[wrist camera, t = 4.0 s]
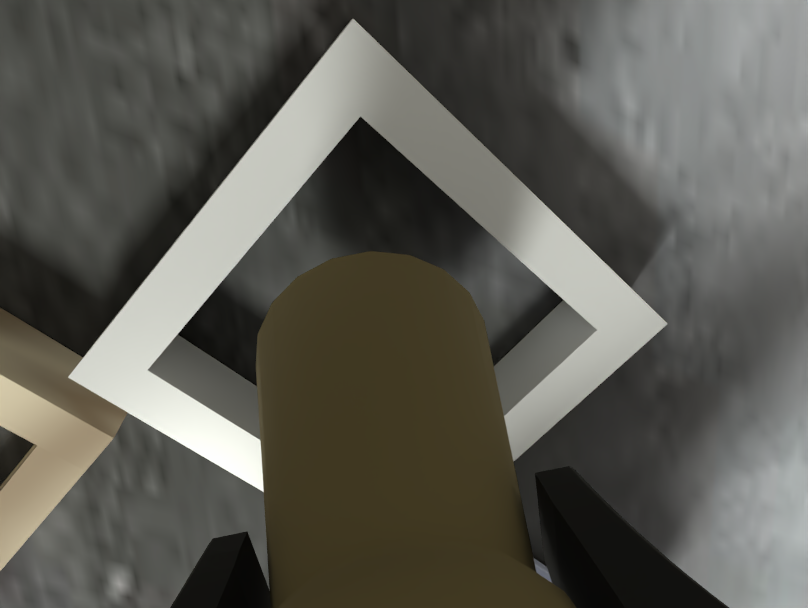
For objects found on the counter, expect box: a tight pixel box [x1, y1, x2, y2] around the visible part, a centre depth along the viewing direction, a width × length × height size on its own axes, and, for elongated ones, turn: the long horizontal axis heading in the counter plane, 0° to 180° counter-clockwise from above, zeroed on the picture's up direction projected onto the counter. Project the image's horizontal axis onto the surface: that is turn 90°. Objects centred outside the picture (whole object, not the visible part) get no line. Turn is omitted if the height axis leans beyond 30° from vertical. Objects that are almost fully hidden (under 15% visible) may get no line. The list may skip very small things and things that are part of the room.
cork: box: [256, 251, 577, 608], centre depth 11 cm, size 6×6×11 cm
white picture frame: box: [68, 19, 667, 492], centre depth 18 cm, size 12×12×2 cm
